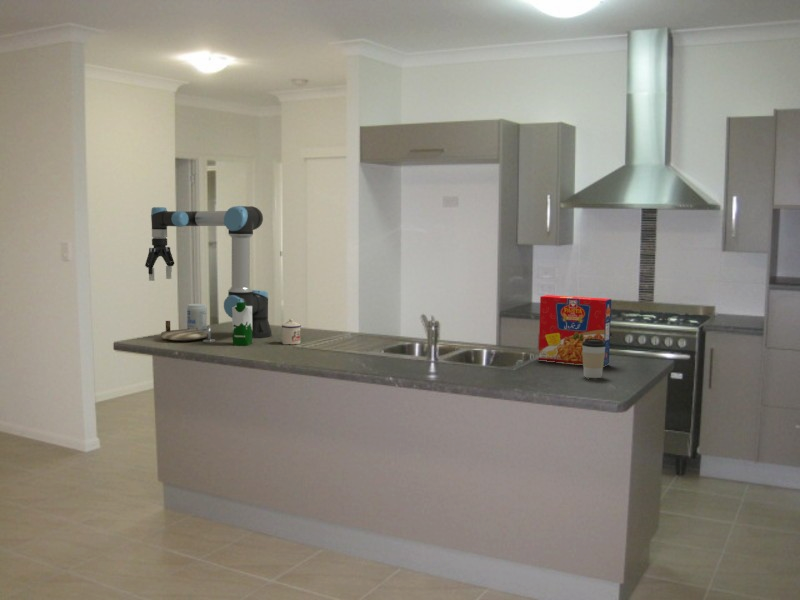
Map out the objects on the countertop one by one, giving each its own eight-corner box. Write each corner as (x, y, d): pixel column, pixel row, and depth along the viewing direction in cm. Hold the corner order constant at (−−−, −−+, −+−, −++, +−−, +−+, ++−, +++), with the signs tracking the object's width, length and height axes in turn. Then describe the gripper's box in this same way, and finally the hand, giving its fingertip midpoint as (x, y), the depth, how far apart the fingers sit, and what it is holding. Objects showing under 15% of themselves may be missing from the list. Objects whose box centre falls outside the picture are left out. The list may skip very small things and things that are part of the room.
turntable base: (205, 338, 400) (205, 335, 400) (187, 342, 388) (187, 339, 388) (182, 336, 406) (182, 333, 406) (163, 340, 393) (163, 337, 393)
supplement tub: (183, 333, 416) (183, 305, 414) (194, 331, 424) (194, 303, 423) (200, 334, 412) (199, 305, 411) (210, 332, 421) (210, 304, 420)
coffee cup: (601, 374, 321) (602, 337, 319) (607, 379, 312) (609, 340, 310) (578, 374, 321) (579, 337, 319) (584, 379, 312) (585, 340, 310)
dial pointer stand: (215, 341, 392) (215, 326, 391) (210, 342, 388) (209, 328, 388) (206, 340, 394) (206, 326, 393) (201, 341, 391) (200, 327, 390)
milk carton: (230, 345, 381) (230, 303, 378) (236, 342, 390) (236, 300, 387) (249, 346, 380) (248, 303, 378) (254, 343, 389) (254, 301, 387)
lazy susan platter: (217, 334, 402) (216, 321, 402) (188, 341, 382) (188, 326, 382) (180, 331, 411) (180, 318, 410) (151, 337, 391) (150, 323, 390)
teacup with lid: (294, 345, 382) (294, 321, 381) (277, 344, 386) (277, 319, 385) (307, 342, 393) (307, 318, 392) (291, 340, 397) (291, 316, 396)
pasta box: (538, 361, 349) (540, 296, 346) (545, 358, 356) (547, 294, 353) (603, 368, 335) (605, 300, 332) (608, 365, 342) (611, 299, 339)
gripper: (168, 237, 425) (169, 277, 428) (137, 238, 402) (138, 281, 405) (180, 237, 423) (181, 278, 425) (149, 238, 400) (150, 281, 402)
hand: (160, 279), depth 415 cm, fingers open, 13 cm apart
